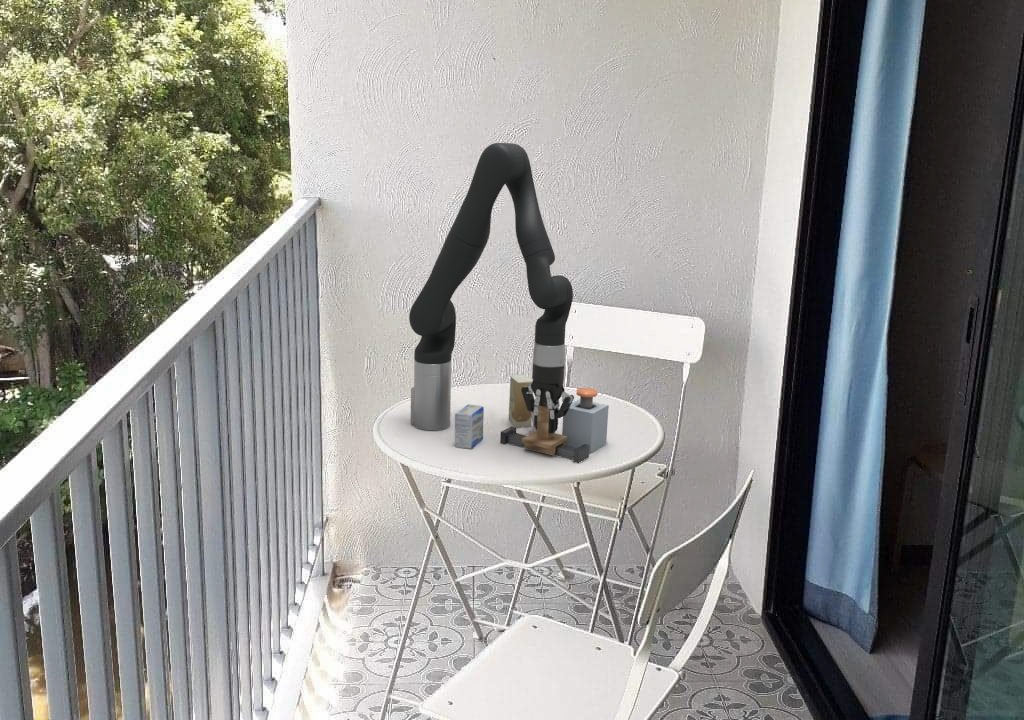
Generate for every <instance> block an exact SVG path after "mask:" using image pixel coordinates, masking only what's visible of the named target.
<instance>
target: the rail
mask: <svg viewBox="0 0 1024 720" xmlns="http://www.w3.org/2000/svg"><path fill="white" fill-rule="evenodd" d="M499 433H500V435H499V442H500V445H501V444H502V445H507V444H508V445H512V446H515V447H520V448H524V449H525V443H523V442H522V438H524V437H526V436H528V434H523V433H522V434H521V433H518V432H517V427H515V426H514V425H513V426H509V427H507V428H505V429H503V430H501V431H500V432H499ZM589 447H590V445H587V444H583V445H582V446H580V447H578V448H576V447H572V446H568V445H563V444H560V445H558V446H557V447H555V455H554V456H555V457H560V458H563V459H568V460H571V461H573V463H575V462H577V463H576V464H580V463H582V462H583V461H585V460H586V458H587V459H588V458H590V453H589ZM584 459H585V460H584ZM581 461H582V462H581ZM579 462H580V463H579Z"/></svg>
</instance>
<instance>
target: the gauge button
mask: <svg viewBox="0 0 1024 720" xmlns="http://www.w3.org/2000/svg"><path fill="white" fill-rule="evenodd" d="M576 395H577V396H579V399H580V408H584V409H588V410H590V409H592V404H593V402H594V401H593V400H594V398H595V397H597V396H598V390H597V389H595V388H590V387H589V388H588V387H581V388H577V389H576Z"/></svg>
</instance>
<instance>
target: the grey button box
mask: <svg viewBox="0 0 1024 720" xmlns="http://www.w3.org/2000/svg"><path fill="white" fill-rule="evenodd" d="M609 406H610V405H608V404H605V403H600V402H594V401H593V404H592V409H590V410H588V409H584V408H580V398H579V399H577V400H574V401H572V403H571V405H570V408H569V410H568V412H567V414H566V415H565V416H563V417H562V429H561V430H562V431H561V435H565V436H568V441H566V442H565V445H568V446H572V447H576V448H578V447H580V446H582V445H583V444H587V445H590V447H589V454H592V453H594V452H595V451H597V450H599V449H600V447H601V448H603V446H605V444H606V445H607V436H608V423H609V422H608V419H609ZM598 448H599V449H598Z"/></svg>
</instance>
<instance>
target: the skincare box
mask: <svg viewBox="0 0 1024 720" xmlns="http://www.w3.org/2000/svg"><path fill="white" fill-rule="evenodd" d="M509 380H510V383H509V398H508V399H509V403H508V406H509V407H508V418H507V419H508V421H509V422H510V423H511V424H512V425H513V427H516V428H527V427H531V426H532V414H531V411H528V410H527V407H526V404H525V401H524V398H523V394H522V391H521V388H522V387H525V386H527V385H529V386H530V385H531V384H532V382H533V379H532V378H530V377H529V376H528V375H526V374H519V375H517V374H515V375H510V379H509Z"/></svg>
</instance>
